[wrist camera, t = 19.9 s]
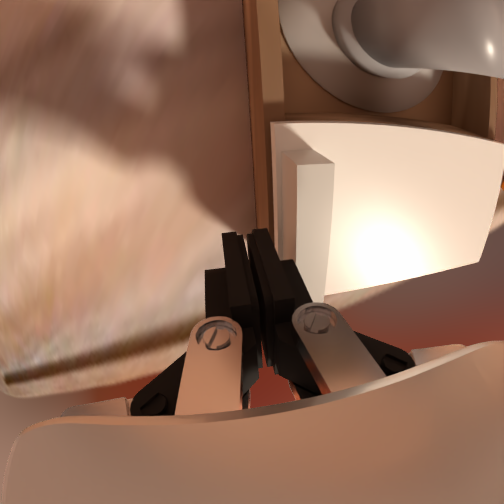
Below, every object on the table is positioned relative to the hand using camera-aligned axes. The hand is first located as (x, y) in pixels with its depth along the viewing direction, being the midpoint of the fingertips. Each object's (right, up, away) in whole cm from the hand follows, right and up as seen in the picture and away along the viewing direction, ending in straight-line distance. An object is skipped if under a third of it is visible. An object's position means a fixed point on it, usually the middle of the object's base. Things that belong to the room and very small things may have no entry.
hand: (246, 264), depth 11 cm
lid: (+8, +3, +2) cm, 9 cm away
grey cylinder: (+7, +12, 0) cm, 14 cm away
